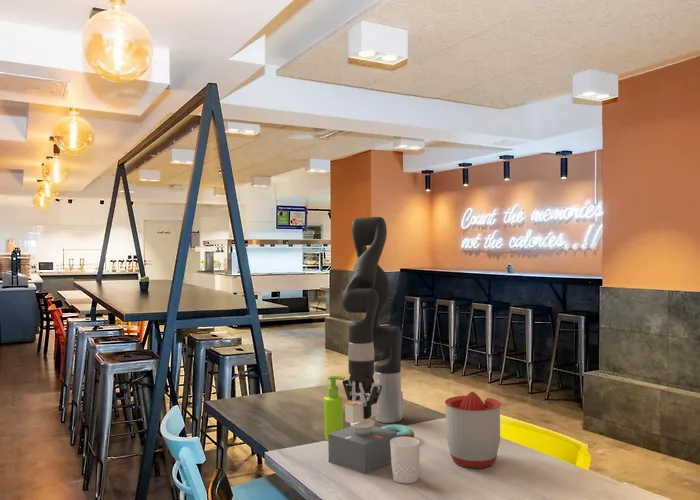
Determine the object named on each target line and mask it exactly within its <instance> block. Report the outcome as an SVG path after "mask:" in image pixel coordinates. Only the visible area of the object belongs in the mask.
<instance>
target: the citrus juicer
mask: <svg viewBox="0 0 700 500" xmlns="http://www.w3.org/2000/svg"><path fill="white" fill-rule="evenodd" d="M444 403H445V411H446V412H445V423H446V424H445V426H446V428H445V429H446V440H447V445H448V449H449V454H450V456H451V459H452V460H453V462H454V463H455V464H457V465H458V466H462V467H466V468H479V469H485V468H487V467H490V466H492V465H494V464H495V461H496V459H497V457H498V452H499V447H500V443H501V442H500V441H501V401H499V400H497V399H495V398H493V397H486V398H485V400H484V402H483V400H482V398H481V397H480V396H479V395H478V394H477V393H475V391H470V392H469V393H468V394H467V395H457V396H451V397H449V398H447V399H445V401H444Z"/></svg>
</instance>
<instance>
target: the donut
mask: <svg viewBox="0 0 700 500" xmlns="http://www.w3.org/2000/svg"><path fill="white" fill-rule="evenodd" d="M380 428H383V429H387V430H390V431H394V432H397V437H413V438H415V432H414V430H413V429H412V428H411V427H410V426H407V425H404V424H387V425H383V426H381V427H380Z"/></svg>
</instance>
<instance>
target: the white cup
mask: <svg viewBox="0 0 700 500" xmlns="http://www.w3.org/2000/svg"><path fill="white" fill-rule="evenodd" d="M390 449H391V463H390V464H391V469H392V470H391V471H392V479H393V481H395V482H396V483H399V484H413V483H416V482H418V480H419V471H420V470H419V468H420V450H421V441H420V439H418V438H416V437H414V438H413V437H396V438H393V439H391V440H390Z"/></svg>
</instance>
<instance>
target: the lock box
mask: <svg viewBox="0 0 700 500" xmlns="http://www.w3.org/2000/svg"><path fill="white" fill-rule="evenodd" d="M396 437H397V432H394V431H390V430H387V429H383V428H381V427H379V426H376V425H374V427H372V428H367V429H357V428H353V427H351V426H348V427H343V429H341V430H338V431H335V432H332V433H330V434H328V440H327V441H328V444H327V445H328V447H327V448H328V462H329V463H331V464H335V465H337V466H341V467H344V468H346V469H349V470H352V471H354V472H358V473H361V474H368V473H370V472H372V471H375V470H377V469H380V468H382V467H384V466H387V465H388V464H392V463H391V449H390V440H391V439H393V438H396Z"/></svg>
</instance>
